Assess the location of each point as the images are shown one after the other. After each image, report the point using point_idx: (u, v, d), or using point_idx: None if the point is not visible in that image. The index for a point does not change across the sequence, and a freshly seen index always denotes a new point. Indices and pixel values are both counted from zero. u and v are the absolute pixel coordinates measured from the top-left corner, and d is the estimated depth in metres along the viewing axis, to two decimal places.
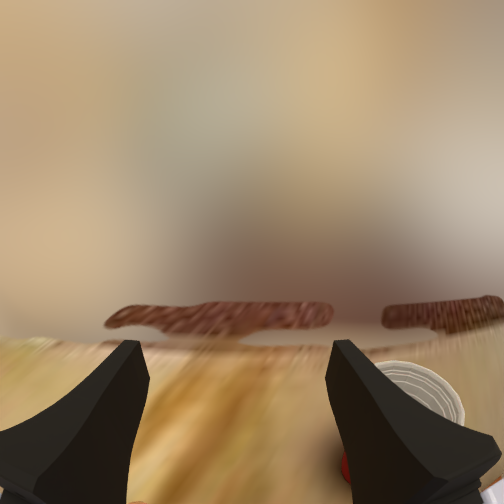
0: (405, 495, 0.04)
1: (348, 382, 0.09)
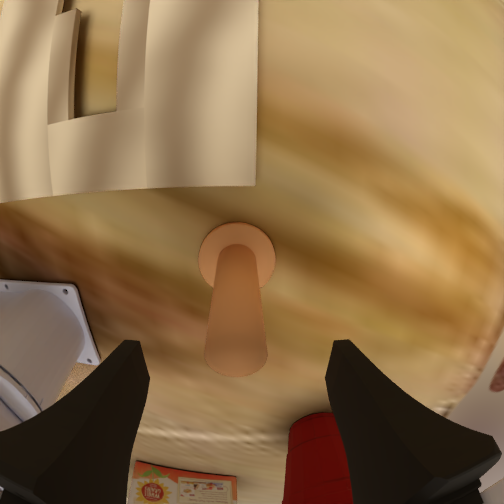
0: (405, 495, 0.04)
1: (348, 382, 0.09)
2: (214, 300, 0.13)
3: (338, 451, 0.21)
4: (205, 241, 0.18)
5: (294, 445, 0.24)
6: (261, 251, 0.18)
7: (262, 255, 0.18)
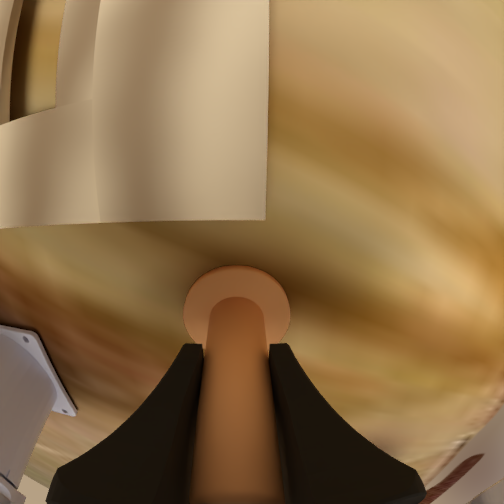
0: None
1: (276, 388, 0.09)
2: (202, 409, 0.08)
3: None
4: (191, 292, 0.12)
5: None
6: (271, 306, 0.13)
7: (272, 311, 0.13)
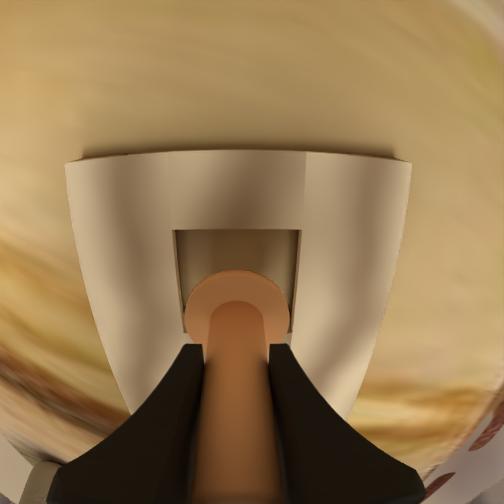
0: None
1: (276, 388, 0.09)
2: (200, 414, 0.08)
3: None
4: (188, 304, 0.13)
5: None
6: (267, 304, 0.13)
7: (269, 309, 0.13)
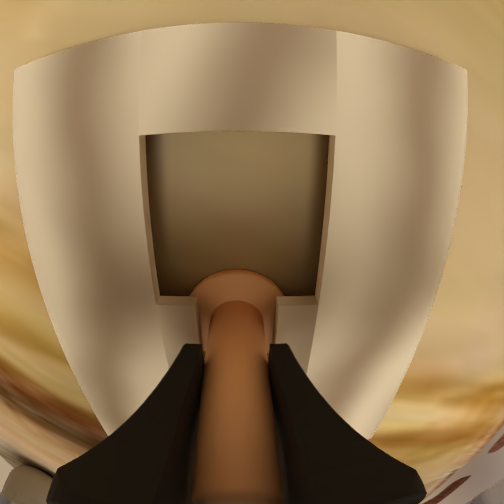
0: None
1: (276, 388, 0.09)
2: (200, 414, 0.08)
3: None
4: None
5: None
6: (267, 304, 0.13)
7: (269, 309, 0.13)
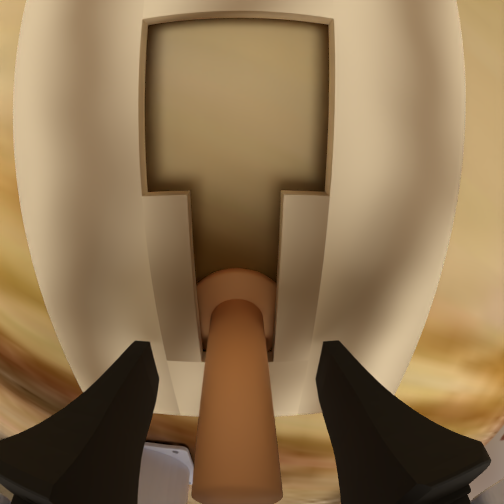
0: (390, 500, 0.04)
1: (336, 384, 0.09)
2: (201, 410, 0.08)
3: None
4: None
5: None
6: (267, 302, 0.13)
7: (269, 307, 0.13)
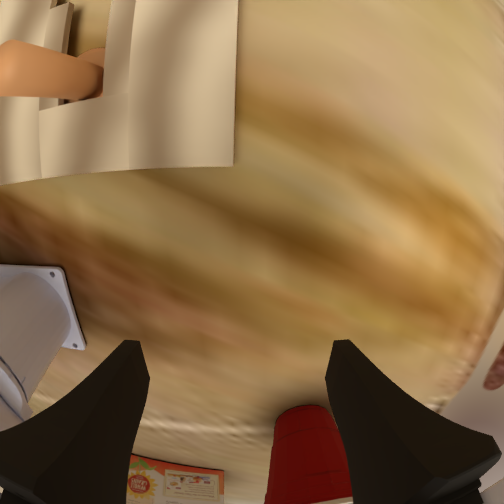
0: (405, 495, 0.04)
1: (348, 382, 0.09)
2: None
3: (323, 444, 0.21)
4: None
5: (279, 437, 0.24)
6: None
7: None
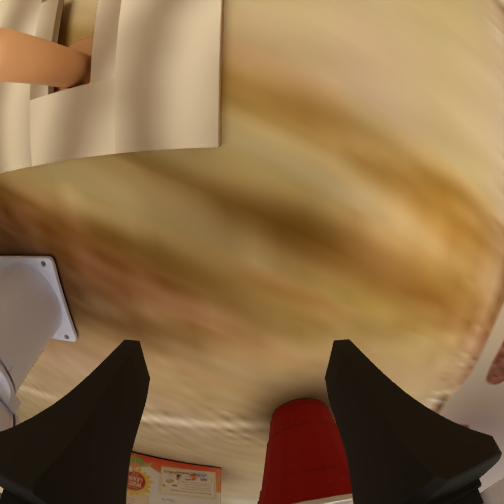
0: (405, 495, 0.04)
1: (348, 382, 0.09)
2: None
3: (320, 439, 0.20)
4: None
5: (274, 432, 0.23)
6: None
7: None
